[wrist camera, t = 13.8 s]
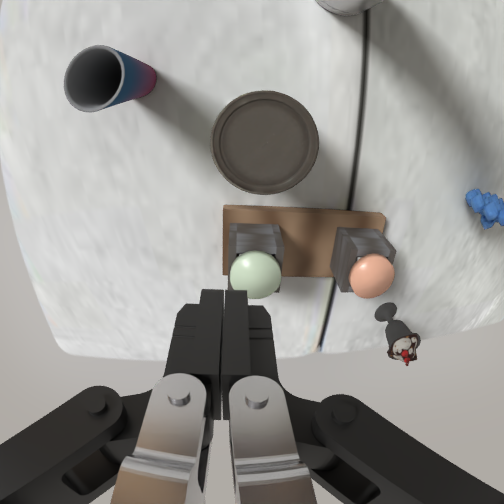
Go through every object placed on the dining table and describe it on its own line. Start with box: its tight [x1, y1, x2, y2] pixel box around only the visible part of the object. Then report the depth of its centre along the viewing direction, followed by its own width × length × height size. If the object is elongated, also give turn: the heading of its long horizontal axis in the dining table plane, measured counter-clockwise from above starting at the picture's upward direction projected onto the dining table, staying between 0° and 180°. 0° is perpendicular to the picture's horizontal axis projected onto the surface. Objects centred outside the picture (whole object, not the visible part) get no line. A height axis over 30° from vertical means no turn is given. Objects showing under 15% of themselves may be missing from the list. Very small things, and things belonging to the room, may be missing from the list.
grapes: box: [466, 189, 504, 229], centre depth 41 cm, size 12×7×12 cm, turn 84°
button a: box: [230, 250, 281, 299], centre depth 42 cm, size 6×6×8 cm
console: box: [223, 205, 396, 292], centre depth 45 cm, size 25×11×9 cm, turn 87°
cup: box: [64, 45, 156, 112], centre depth 29 cm, size 7×7×15 cm
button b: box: [349, 254, 395, 298], centre depth 43 cm, size 6×6×8 cm
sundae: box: [375, 303, 421, 366], centre depth 51 cm, size 7×7×15 cm
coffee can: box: [210, 91, 319, 195], centre depth 34 cm, size 10×10×14 cm
